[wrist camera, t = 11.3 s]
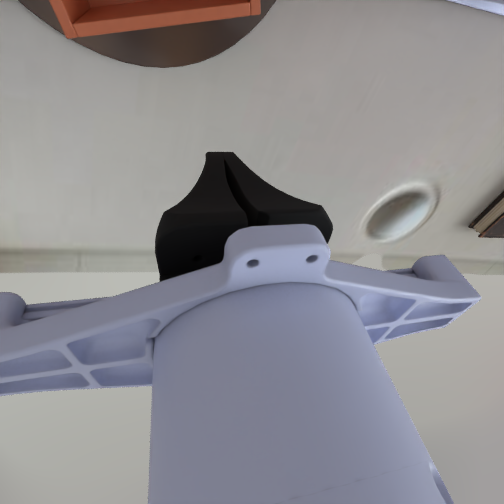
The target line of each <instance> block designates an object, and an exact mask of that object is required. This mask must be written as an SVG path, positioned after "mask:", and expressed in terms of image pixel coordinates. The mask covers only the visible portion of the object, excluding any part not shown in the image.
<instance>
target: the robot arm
mask: <svg viewBox="0 0 504 504" xmlns="http://www.w3.org/2000/svg"><path fill="white" fill-rule="evenodd" d="M447 1H451V2H455V3H458V4H462V5H466V6H469V7H473V8H477V9H480V10H484V11H488V12H491V13H495V14H499V15H502V16H504V0H447ZM332 231H333V225H332V222H331V220H330V218H329V217H328V215H327V213H326V211H325V210H324V208H323V207H322V206H321V205H317V204H314V203H310V202H306V201H303V200H301V199H298V198H295V197H293V196H290V195H288V194H286V193H284V192H282V191H280V190H278V189H276V188H275V187H273V186H271V185H270V184H268V183H267V182H265V181H264V180H263V179H261V178H260V177H259V176H257V175H256V174H255V173H254V172H253V171H252V170H250V169H249V168H248V167H247V166H246V165H245V164H244V163H243V162H242V161H241V160H240V159H239V158H238V157H237V156H236V155H235V154H234V153H233V152H207V153H206V162H205V165H204V168H203V171H202V173H201V175H200V177H199V179H198V181H197V183H196V185H195V186H194V188H193V189H192V190H191V191H190V193H189V194H188V195H187V196H186V197H185V198H184V199H183V200H182V201H181V202H179V203H178V204H177V205H175V206H174V207H172V208H170V209H169V210H167V211H165V212H164V213H163V215H162V218H161V220H160V223H159V226H158V229H157V233H156V239H155V254H156V259H157V264H158V269H159V273H160V282H158V283H154V284H151V285H148V286H145V287H142V288H138V289H135V290H132V291H129V292H125V293H122V294H119V295H116V296H113V297H104V298H93V299H83V300H73V301H61V302H51V303H40V304H30V305H26V303H25V301H24V300H23V299H22V298H21V297H20V296H19V295H17V294H15V293H11V292H0V396H5V395H13V394H22V393H32V392H42V391H57V390H72V389H73V390H74V389H94V388H117V387H138V386H152V408H151V409H152V410H151V435H150V463H149V489H148V504H454V502H453V500H452V498H451V496H450V494H449V493H448V491H447V489H446V487H445V485H444V483H443V481H442V479H441V477H440V475H439V473H438V471H437V469H436V467H435V465H434V463H433V461H432V459H431V458H430V456H429V454H428V451H427V449H426V448H425V446H424V444H423V442H422V440H421V438H420V436H419V434H418V432H417V430H416V428H415V426H414V424H413V422H412V420H411V418H410V416H409V414H408V412H407V410H406V408H405V406H404V404H403V402H402V400H401V398H400V396H399V394H398V392H397V390H396V388H395V386H394V384H393V382H392V380H391V378H390V376H389V374H388V372H387V370H386V368H385V366H384V364H383V363H382V361H381V358H380V356H379V354H378V352H377V351H376V348H375V347H374V345H375V344H378V343H382V342H385V341H388V340H392V339H395V338H399V337H403V336H407V335H410V334H414V333H419V332H423V331H428V330H433V329H439V328H444V327H446V326H447V325H449V324H450V323H451V322H452V321H454V320H455V319H456V318H458V317H459V316H460V315H461V314H463V313H464V312H465V311H467V310H468V309H469V308H470V307H472V306H473V305H474V304H476V303H477V302H478V301H479V300H481V296H480V295H479V294H478V292H477V291H476V290H475V289H474V288H473V287H472V286H471V285H470V283H469V282H468V281H467V280H466V279H465V278H464V276H463V275H462V274H461V273H460V272H459V271H458V270H457V269H456V267H455V266H454V265H453V264H452V263H451V262H450V261H449V259H448V258H447V257H446V256H445V255H434V256H425V257H421V258H420V259H418V260H417V261H416V262H415V263H414V265H413V266H412V268H408V269H398V270H387V271H381V270H376V269H371V268H366V267H362V266H357V265H352V264H347V263H343V262H338V261H333V260H329V259H330V253H331V250H330V248H329V247H328V245H327V244H328V242H329V239H330V237H331V234H332Z"/></svg>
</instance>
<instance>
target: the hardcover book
mask: <svg viewBox="0 0 504 504" xmlns="http://www.w3.org/2000/svg"><path fill="white" fill-rule="evenodd" d="M469 228H474V229H476V232H479V233H481V234H480V235H478V237H485V238H504V192H503V193H502V194H501V195H500V196H499V197H498V198H497V199H496V200H495V201H494V202H493V203H492V204H491V205H490V206H489V207H488V208H487V209H486V210H485V211H484V212H483V213H482V214H481V215H480V216H479V217H478V218H477V219H476V220H475V221H474V222H473V223H472V224H471V225H470V226H469Z"/></svg>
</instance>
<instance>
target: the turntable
mask: <svg viewBox="0 0 504 504" xmlns="http://www.w3.org/2000/svg"><path fill="white" fill-rule="evenodd" d="M18 1H20V2H21V3H22V4H23V5H24V6H25V7H26V8H27V9H29V10H30V11H31V12H33V13H34V14H35V15H37V16H38V17H39V18H41V19H42V20H43V21H45V22H46V23H47V24H49V25H50V26H51V27H53V28H54V29H56V30H57V31H59V32H60V33H62V34H64V32H63V30H62V27H61V25H60V23H59V21H58V19H57V17H56V14H55V12H54V10H53V8H52V6H51V4H50V1H49V0H18ZM275 1H276V0H260V6H261V14H260V15H250V16H244V17H237V18H229V19H221V20H213V21H205V22H197V23H189V24H181V25H173V26H165V27H157V28H149V29H141V30H133V31H126V32H118V33H110V34H102V35H94V36H86V37H77V38H70V39H72V40H74V41H75V42H77V43H78V44H81V45H83V46H85V47H87V48H89V49H91V50H93V51H95V52H97V53H99V54H101V55H104V56H107V57H110V58H113V59H116V60H119V61H122V62H125V63H130V64H135V65H140V66H146V67H160V68H166V67H179V66H185V65H190V64H194V63H198V62H201V61H204V60H206V59H209V58H211V57H214V56H216V55H218V54H220V53H221V52H223V51H225V50H226V49H228V48H230V47H231V46H233V45H235V44H236V43H237V42H238V41H239V40H241V39H242V38H243V37H244V36H246V35H247V34H248V33H249V32H250V31H251V30H252V29H253V28H254V27H255V26H256V25H257V24H258V23H259V22H260V21H261V19H262V18H263V17H264V16H265V15H266V13H267V12H268V11H269V9H270V8H271V7H272V5H273V4H274V3H275ZM64 35H65V34H64Z"/></svg>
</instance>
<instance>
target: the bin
mask: <svg viewBox="0 0 504 504" xmlns="http://www.w3.org/2000/svg"><path fill="white" fill-rule="evenodd" d="M49 1H50V4H51V6H52V8H53V10H54V12H55V14H56V17H57V19H58V21H59V23H60V25H61V27H62V30H63V32H64V34H65V36H66V38H67V39H70V38H77V37H86V36H94V35H102V34H110V33H118V32H126V31H133V30H141V29H149V28H157V27H165V26H173V25H181V24H189V23H197V22H205V21H213V20H221V19H229V18H237V17H244V16H250V15H260V14H261V6H260V0H49Z"/></svg>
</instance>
